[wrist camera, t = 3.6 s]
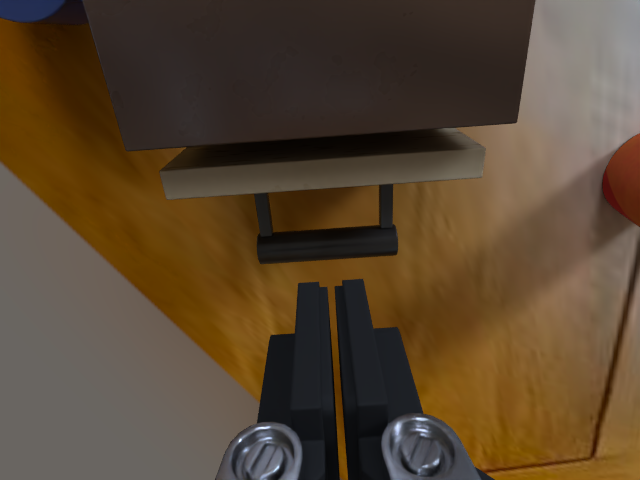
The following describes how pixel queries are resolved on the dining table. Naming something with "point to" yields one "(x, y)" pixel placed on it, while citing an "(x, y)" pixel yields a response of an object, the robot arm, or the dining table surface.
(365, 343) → the robot arm
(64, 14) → the blue cylinder can
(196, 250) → the dining table surface
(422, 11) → the cabinet
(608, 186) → the paper cup
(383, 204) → the drawer
